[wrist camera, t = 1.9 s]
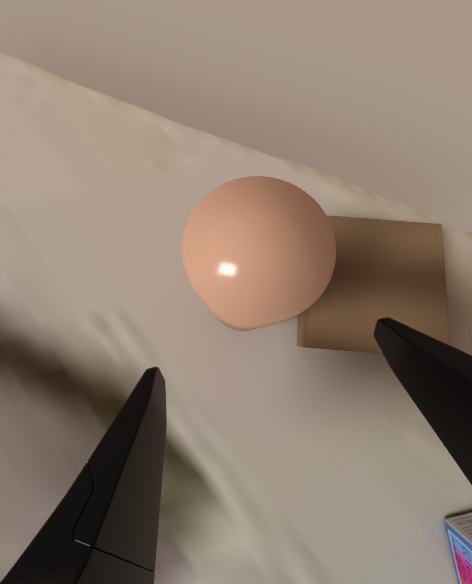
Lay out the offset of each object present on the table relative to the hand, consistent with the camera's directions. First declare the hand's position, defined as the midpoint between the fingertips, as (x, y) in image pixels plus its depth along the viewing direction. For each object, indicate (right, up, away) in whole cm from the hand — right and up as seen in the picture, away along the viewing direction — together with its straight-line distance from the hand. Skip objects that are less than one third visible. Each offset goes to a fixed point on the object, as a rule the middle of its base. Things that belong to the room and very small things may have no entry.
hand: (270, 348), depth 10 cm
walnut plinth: (+9, +2, +11) cm, 15 cm away
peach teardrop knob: (-1, +2, +11) cm, 11 cm away
